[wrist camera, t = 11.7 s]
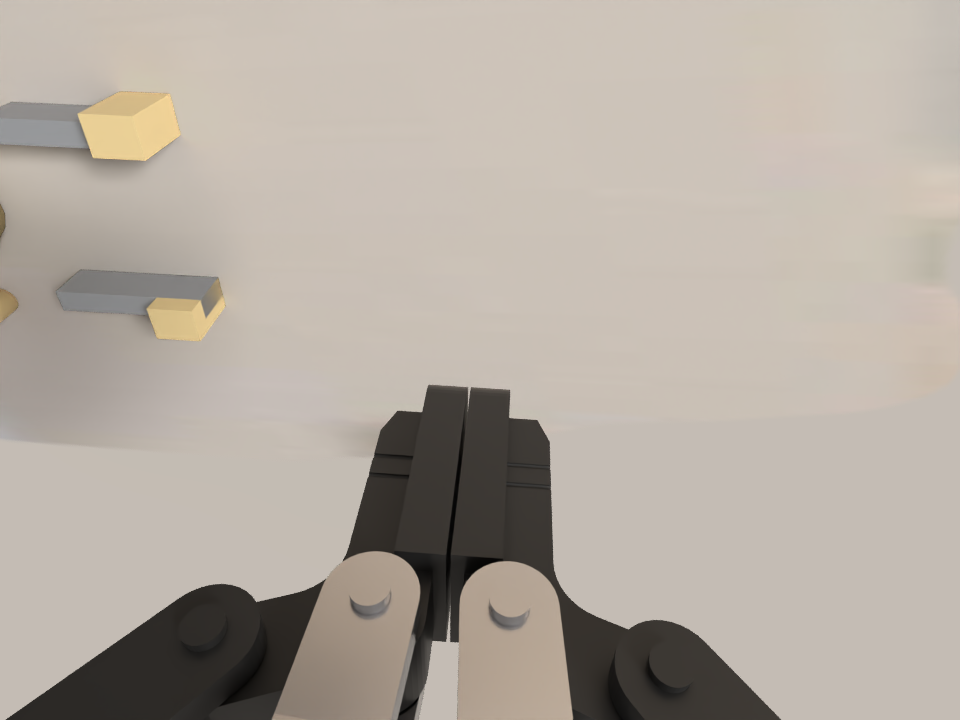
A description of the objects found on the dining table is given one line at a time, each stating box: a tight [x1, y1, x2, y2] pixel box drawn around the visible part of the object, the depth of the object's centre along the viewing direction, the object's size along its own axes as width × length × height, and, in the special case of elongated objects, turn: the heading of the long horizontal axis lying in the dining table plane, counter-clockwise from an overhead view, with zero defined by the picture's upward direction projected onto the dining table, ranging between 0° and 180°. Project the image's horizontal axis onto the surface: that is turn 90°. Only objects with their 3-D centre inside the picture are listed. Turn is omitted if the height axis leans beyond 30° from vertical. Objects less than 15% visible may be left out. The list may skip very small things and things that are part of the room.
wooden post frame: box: [0, 92, 225, 341], centre depth 39 cm, size 18×18×6 cm
